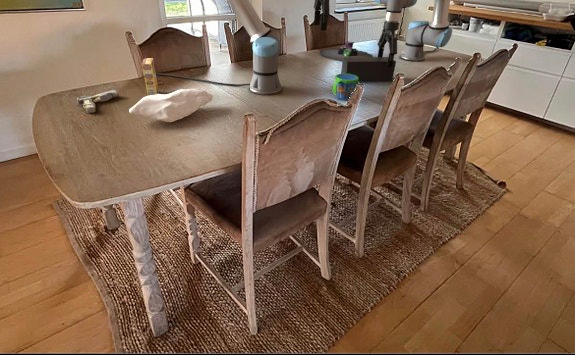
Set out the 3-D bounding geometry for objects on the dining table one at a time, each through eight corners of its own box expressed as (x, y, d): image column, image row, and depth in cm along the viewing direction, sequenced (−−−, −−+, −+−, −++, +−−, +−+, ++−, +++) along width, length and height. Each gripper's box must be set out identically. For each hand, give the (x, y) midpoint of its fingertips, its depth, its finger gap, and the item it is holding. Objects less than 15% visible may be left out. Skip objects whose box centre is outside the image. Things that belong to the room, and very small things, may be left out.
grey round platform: (383, 57, 237) (385, 42, 233) (344, 64, 220) (345, 48, 215) (347, 49, 262) (348, 36, 257) (309, 54, 245) (309, 40, 240)
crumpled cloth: (117, 110, 146) (113, 90, 140) (195, 92, 166) (194, 73, 160) (143, 139, 134) (140, 118, 128) (223, 116, 154) (224, 96, 148)
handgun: (128, 97, 156) (111, 87, 164) (86, 107, 144) (70, 97, 152) (129, 103, 157) (113, 94, 165) (88, 114, 146) (72, 103, 154)
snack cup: (349, 91, 180) (352, 71, 174) (364, 98, 172) (367, 77, 167) (324, 97, 172) (326, 75, 167) (338, 104, 165) (341, 82, 159)
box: (345, 82, 193) (347, 61, 187) (340, 77, 200) (342, 57, 194) (392, 81, 197) (396, 61, 191) (386, 76, 204) (389, 56, 198)
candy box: (157, 97, 164) (152, 63, 155) (147, 98, 163) (141, 63, 155) (158, 91, 171) (153, 57, 163) (149, 91, 170) (143, 58, 162)
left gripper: (339, -21, 153) (334, 33, 164) (325, -25, 173) (321, 22, 185) (322, -21, 151) (318, 32, 163) (309, -26, 172) (306, 22, 184)
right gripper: (409, 25, 174) (400, 70, 185) (389, 17, 195) (381, 57, 206) (395, 25, 173) (386, 70, 184) (375, 17, 193) (369, 57, 205)
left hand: (319, 27), depth 174 cm, fingers open, 13 cm apart
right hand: (384, 63), depth 195 cm, fingers open, 13 cm apart
